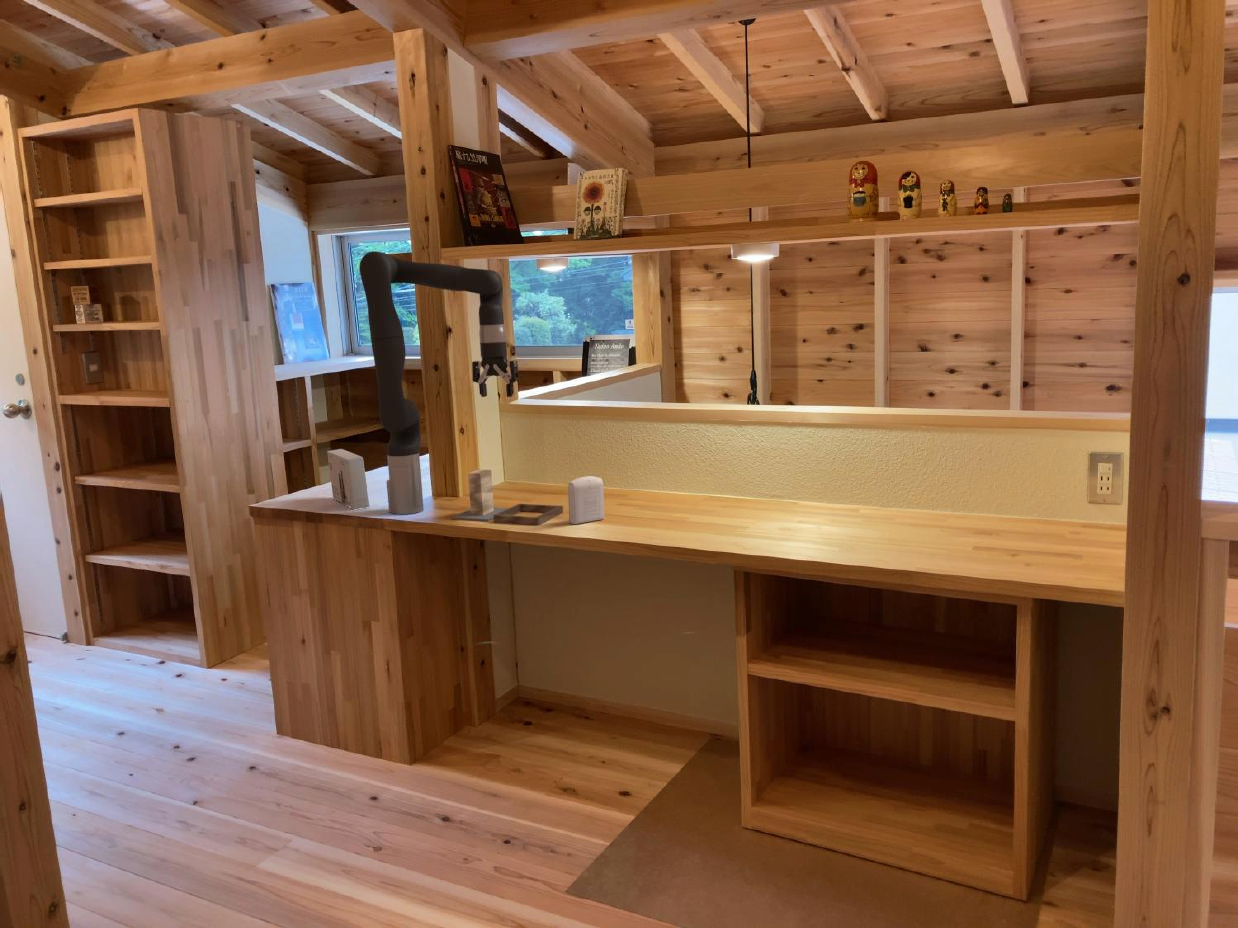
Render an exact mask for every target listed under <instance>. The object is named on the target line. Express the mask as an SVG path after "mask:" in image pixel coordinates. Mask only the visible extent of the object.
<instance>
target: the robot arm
mask: <svg viewBox="0 0 1238 928" xmlns="http://www.w3.org/2000/svg"><path fill="white" fill-rule="evenodd" d="M358 269H359V274H360V278H361V282H362V286H363V290H364V293H365V294H364V295H365V299H366V305H367V315H368V316H367V317H368V324H369V333H370V343H371V350H372V351H371V352H372V355H373V361H374V368H375V375H376V376H375V377H376V381H377V392H378V394H377V395H378V396H377V397H378V415H379V419H380V423H381V426H382V427H383V428H384V429H385V430H386V431H387V432H389V433H390V438H389V442H388V443H387V445H386V454H387V457H386V459H387V468H388V469H387V470H388V479H387V480H386V491H387V503H388V512H389V513H393V514H396V515H409V514H410V515H411V514H415V513H419V512H422V511H424V509H425V508H424V507H425V506H424V497H423V486H422V485H423V484H422V482H423V481H422V471H421V470H422V469H421V460H420V444H421V437H422V436H421V421H420V420H421V419H420V418H421V417H420V412H419V409H418V406H417V405H416V403H415V402H414V401H413V400H411V399H409V398H405V396H404V388H403V376H404V371H405V370H404V369H405V363H406V356H407V354H406V352H407V351H406V344H405V337H404V330H403V326H402V323H401V321H400V318H399V314H398V312H397V310H396V307H395V304H394V299H393V291H392V290H393V289H392V284H410V285H420V286H423V287H424V286H425V287H428V288H434V289H439V290H445V291H454V292H468V293H473V294H478V295H479V308H478V322H479V323H478V324H479V332H478V333H479V334H478V335H479V345H480V346H479V348H480V357H481V361H480V360H476V361H474V360H473V361H472V363H471V369H472V371H471V373H472V377H471V378H472V382H474V383H477V384H478V389H479V395H480V396H481V397H482V398H485V397H487V396H488V390H487V381H488V379H489V378H491V377H493V376H495V377H501V379H503V380H504V382H505V383H506V384H505V389H506V390H505V391H506V393H505V394H506V397H507V398H510V397H513V395H514V394H515V393H514V391H515V389H514V388H515V387H514V384H515V382H518V381H520V373H519V372H520V371H519V365H518V361H517V359H516V360H510V361H508V357H507V356H508V350H507V335H506V333H507V331H506V327H505V321H504V320H505V319H504V318H505V317H504V316H505V315H504V308H503V298H504V295H503V294H504V287H503V286H504V285H503V284H504V283H503V279H502V277H501V275H500V273H499V272H497V271H495V270H493V269H482V268H468V267H464V266H461V265H460V266H459V265H454V264H453V265H452V264H446V263H445V264H444V263H434V262H433V263H432V262H429V263H428V262H417V261H410V260H405V259H402V258H399V257H395V256H391V255H389V254H388V253H385V252H381V251H375V250H374V251H373V250H371V251H369V252H367V253H365V254H364V255H363V256H362V258H361V259H360V262H359V268H358ZM507 368H509V370H510V371H509V370H508V369H507ZM481 369H483V370H482V372H481Z"/></svg>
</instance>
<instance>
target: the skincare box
mask: <svg viewBox="0 0 1238 928" xmlns="http://www.w3.org/2000/svg"><path fill="white" fill-rule="evenodd" d="M326 454H327V461H328V469H329V476H330V484H331V492H332V499H333V498H334V499H336V500H337V501H336V500H335V501H336V502H338V501H340V502H342V503H344V504H345V505H347V506H350V507H351V508H353V509H358V510H360V509H359V508H364V509H367V508H366V507H369V508H370V501H369V493H368V485H367V479H366V471H365V470H366V469H365V461H364V457H363V456H360V455H358V454H355V453H353V452H351V451H348V450H345V449H343V448H338V449H332V450H327V451H326ZM334 499H333V500H334ZM340 502H339V503H340ZM342 503H341V504H342ZM344 504H343V505H344ZM345 505H344V506H345ZM347 506H346V507H347ZM351 508H350V509H351ZM353 509H352V510H353Z"/></svg>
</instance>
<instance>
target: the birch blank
mask: <svg viewBox="0 0 1238 928" xmlns="http://www.w3.org/2000/svg"><path fill="white" fill-rule="evenodd" d="M467 476H468V490H469V492H468V493H469V504H470V509H471V515H485V514H488V513H490V512H492V511H494V507H495V506H494V496H493V495H494V494H493V493H494V492H493V491H494V490H493V480H492V479H493V478H492V469H481V468H480V469H476V470H473V471H471V472H468V473H467Z"/></svg>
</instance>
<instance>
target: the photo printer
mask: <svg viewBox="0 0 1238 928" xmlns="http://www.w3.org/2000/svg"><path fill="white" fill-rule="evenodd" d="M604 495H605V494H604V482H603V479H602V478H601V477H598V476H593V475H592V476H591V475H589V476H588V475H587V476H582V477H581V476H580V477H578V478H574V479H573V480H571V481H570V482H568V484H567V497H568V499H567V501H568V518H569V523H570V524H572V525H577V524H583V523H588V522H589V523H590V522H594V521H601V520H604V519H605V497H604Z"/></svg>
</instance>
